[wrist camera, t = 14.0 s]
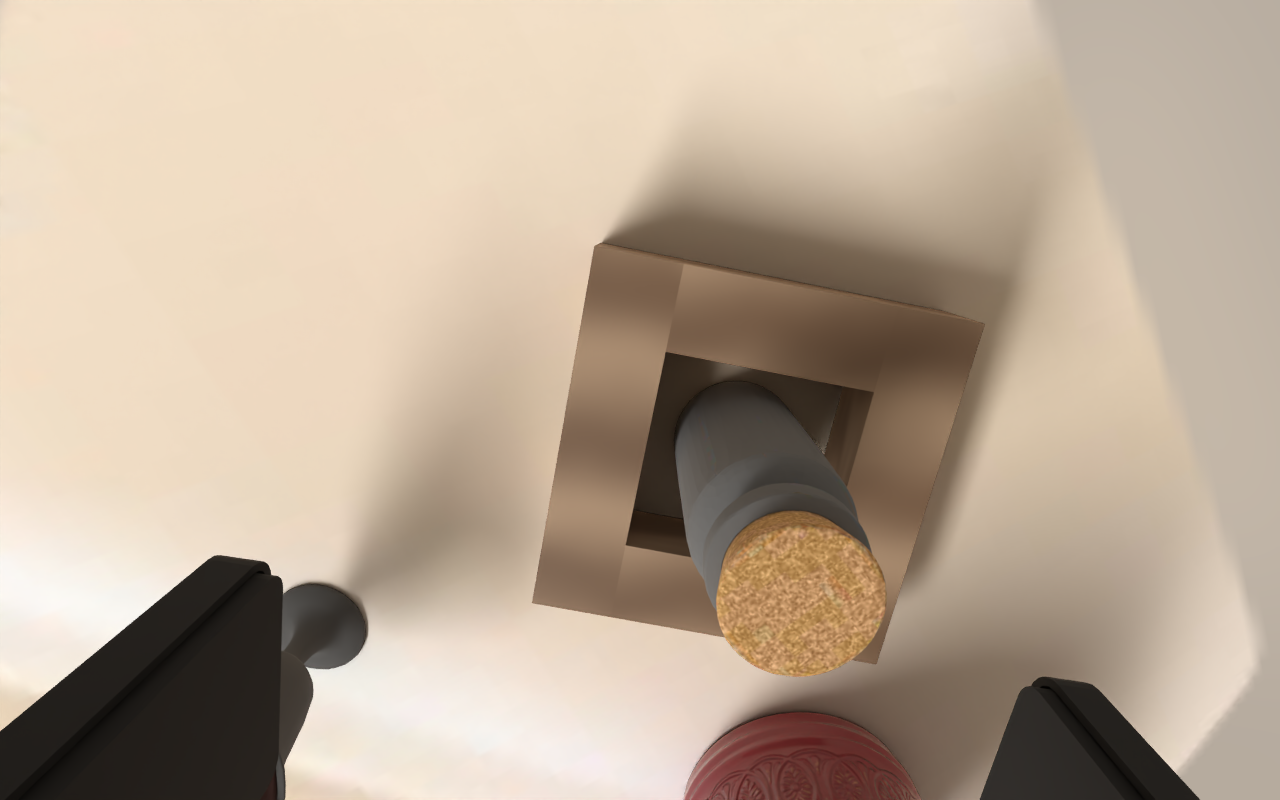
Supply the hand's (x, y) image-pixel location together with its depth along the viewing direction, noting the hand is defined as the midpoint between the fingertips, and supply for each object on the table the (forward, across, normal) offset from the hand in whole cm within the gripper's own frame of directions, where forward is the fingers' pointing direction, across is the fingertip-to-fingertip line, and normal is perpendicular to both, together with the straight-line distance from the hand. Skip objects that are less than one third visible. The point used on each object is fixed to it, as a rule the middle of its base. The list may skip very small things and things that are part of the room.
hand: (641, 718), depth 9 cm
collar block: (+25, -5, +4) cm, 26 cm away
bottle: (+25, -5, +4) cm, 26 cm away
